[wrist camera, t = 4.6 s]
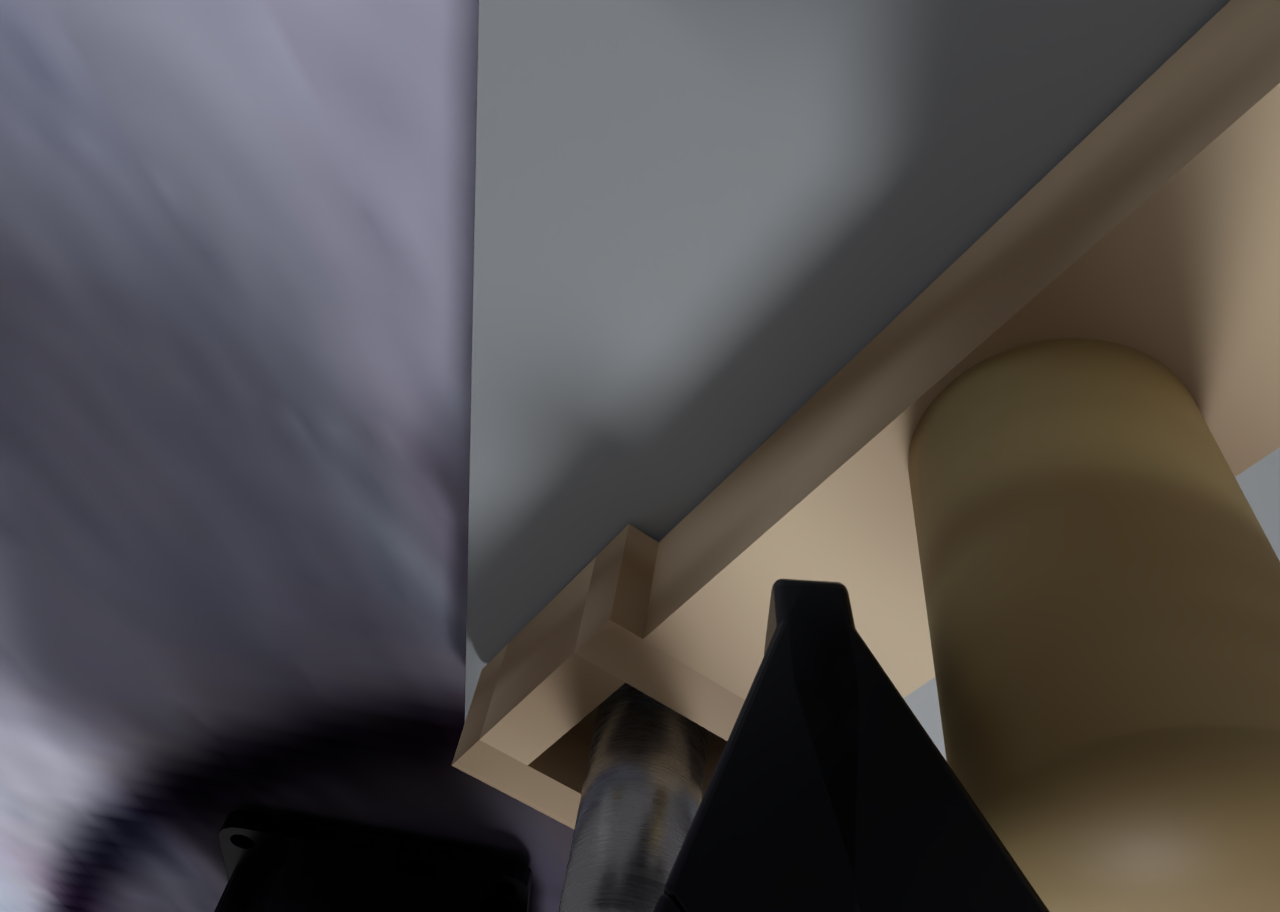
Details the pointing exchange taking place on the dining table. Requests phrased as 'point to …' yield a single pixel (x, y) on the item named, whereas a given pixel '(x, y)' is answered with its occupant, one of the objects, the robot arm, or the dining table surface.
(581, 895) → the peg
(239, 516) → the dining table surface
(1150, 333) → the latch bar
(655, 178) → the board
